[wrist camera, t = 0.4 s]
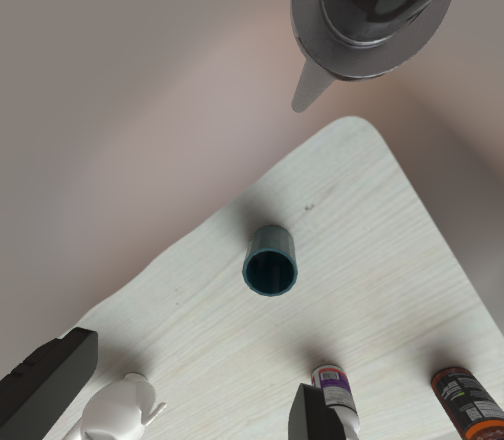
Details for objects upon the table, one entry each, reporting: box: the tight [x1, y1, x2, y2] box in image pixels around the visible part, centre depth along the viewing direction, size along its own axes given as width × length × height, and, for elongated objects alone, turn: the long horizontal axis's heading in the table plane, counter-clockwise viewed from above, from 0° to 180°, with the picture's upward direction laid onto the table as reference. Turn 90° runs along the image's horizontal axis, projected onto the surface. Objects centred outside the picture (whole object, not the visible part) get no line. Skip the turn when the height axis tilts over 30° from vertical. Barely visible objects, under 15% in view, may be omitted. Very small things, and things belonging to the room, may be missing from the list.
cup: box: [242, 225, 298, 297], centre depth 31 cm, size 6×6×7 cm
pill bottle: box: [311, 365, 360, 440], centre depth 35 cm, size 5×5×10 cm
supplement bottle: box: [432, 368, 504, 440], centre depth 32 cm, size 6×6×11 cm
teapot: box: [62, 373, 167, 440], centre depth 40 cm, size 10×20×9 cm, turn 119°
